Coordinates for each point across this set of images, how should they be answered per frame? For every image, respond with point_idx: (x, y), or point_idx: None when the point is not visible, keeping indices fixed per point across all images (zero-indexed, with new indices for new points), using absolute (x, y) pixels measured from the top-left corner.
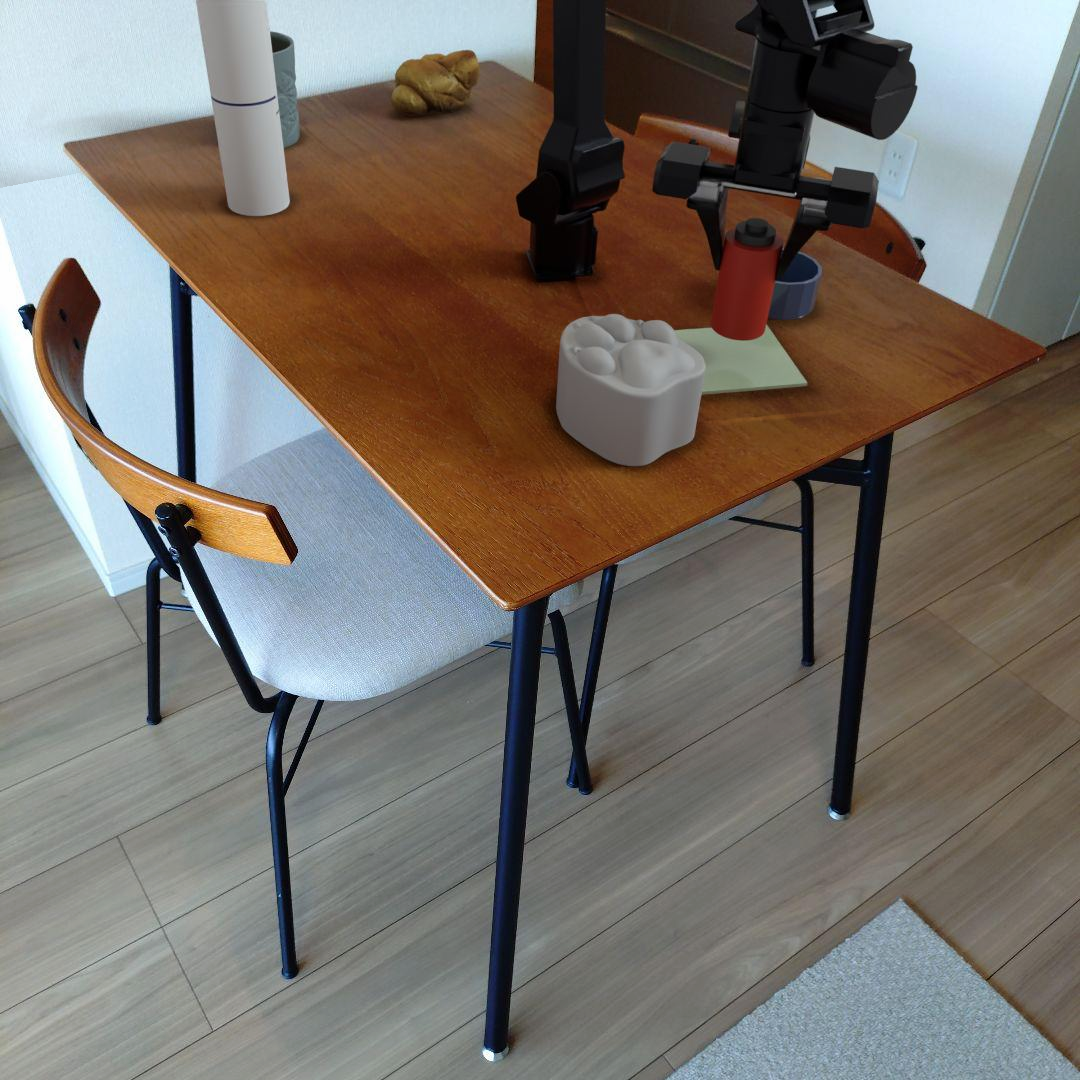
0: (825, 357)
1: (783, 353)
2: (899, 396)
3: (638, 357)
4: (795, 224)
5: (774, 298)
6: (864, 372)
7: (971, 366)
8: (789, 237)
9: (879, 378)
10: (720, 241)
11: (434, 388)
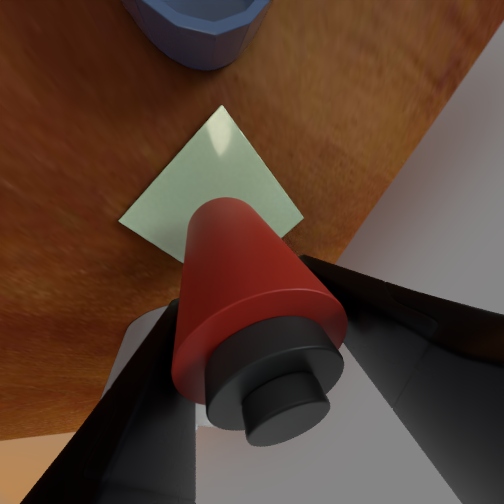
0: (307, 134)
1: (269, 178)
2: (378, 170)
3: (214, 426)
4: (456, 492)
5: (220, 51)
6: (349, 143)
7: (468, 40)
8: (395, 410)
9: (363, 146)
10: (194, 411)
11: (46, 392)
